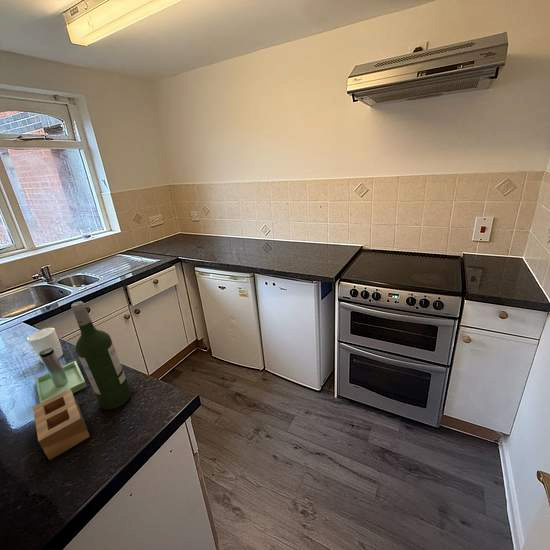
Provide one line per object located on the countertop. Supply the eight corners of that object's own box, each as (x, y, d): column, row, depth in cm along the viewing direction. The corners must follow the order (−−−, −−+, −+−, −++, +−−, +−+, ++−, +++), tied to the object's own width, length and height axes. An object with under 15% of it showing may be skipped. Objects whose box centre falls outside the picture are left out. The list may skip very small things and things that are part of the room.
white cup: (38, 358, 108) (26, 334, 104) (64, 348, 112) (53, 325, 109) (40, 367, 102) (27, 343, 98) (66, 356, 107) (55, 332, 103)
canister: (52, 387, 91) (36, 354, 86) (62, 379, 94) (46, 347, 89) (61, 387, 90) (45, 355, 85) (70, 380, 93) (55, 347, 88)
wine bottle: (137, 394, 84) (101, 298, 73) (110, 414, 78) (66, 314, 67) (122, 385, 88) (85, 294, 77) (95, 404, 82) (51, 308, 71)
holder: (42, 424, 78) (32, 406, 75) (78, 405, 82) (70, 388, 80) (49, 460, 67) (38, 441, 65) (89, 436, 72) (80, 418, 70)
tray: (37, 383, 94) (35, 378, 93) (77, 365, 101) (75, 360, 100) (42, 408, 83) (39, 403, 82) (87, 386, 90) (84, 381, 89)
